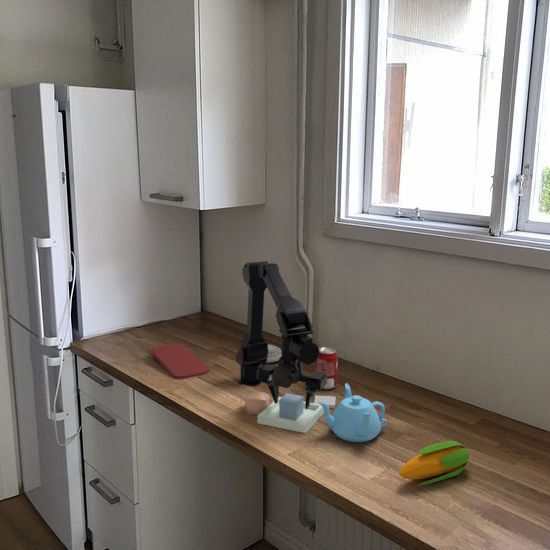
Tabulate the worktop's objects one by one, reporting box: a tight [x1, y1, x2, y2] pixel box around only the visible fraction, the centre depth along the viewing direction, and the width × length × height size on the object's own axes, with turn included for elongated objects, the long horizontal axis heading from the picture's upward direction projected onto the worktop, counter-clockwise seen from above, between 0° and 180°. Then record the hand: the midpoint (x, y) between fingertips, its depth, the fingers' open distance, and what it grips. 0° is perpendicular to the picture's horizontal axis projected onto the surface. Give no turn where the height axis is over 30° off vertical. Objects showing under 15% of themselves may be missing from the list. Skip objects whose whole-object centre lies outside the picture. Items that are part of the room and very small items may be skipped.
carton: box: [151, 342, 210, 380], centre depth 213 cm, size 12×5×25 cm
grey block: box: [313, 395, 337, 409], centre depth 182 cm, size 6×6×2 cm
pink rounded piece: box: [244, 391, 271, 416], centre depth 177 cm, size 7×7×4 cm
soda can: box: [315, 346, 339, 391], centre depth 193 cm, size 7×7×12 cm
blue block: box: [279, 393, 304, 420], centre depth 172 cm, size 5×5×5 cm
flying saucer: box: [265, 343, 281, 364], centre depth 219 cm, size 15×15×6 cm
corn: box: [398, 440, 470, 486], centre depth 142 cm, size 7×8×20 cm
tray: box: [257, 396, 324, 434], centre depth 172 cm, size 14×14×2 cm
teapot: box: [317, 382, 387, 443], centre depth 162 cm, size 15×15×10 cm
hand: (291, 405), depth 172 cm, fingers open, 9 cm apart
